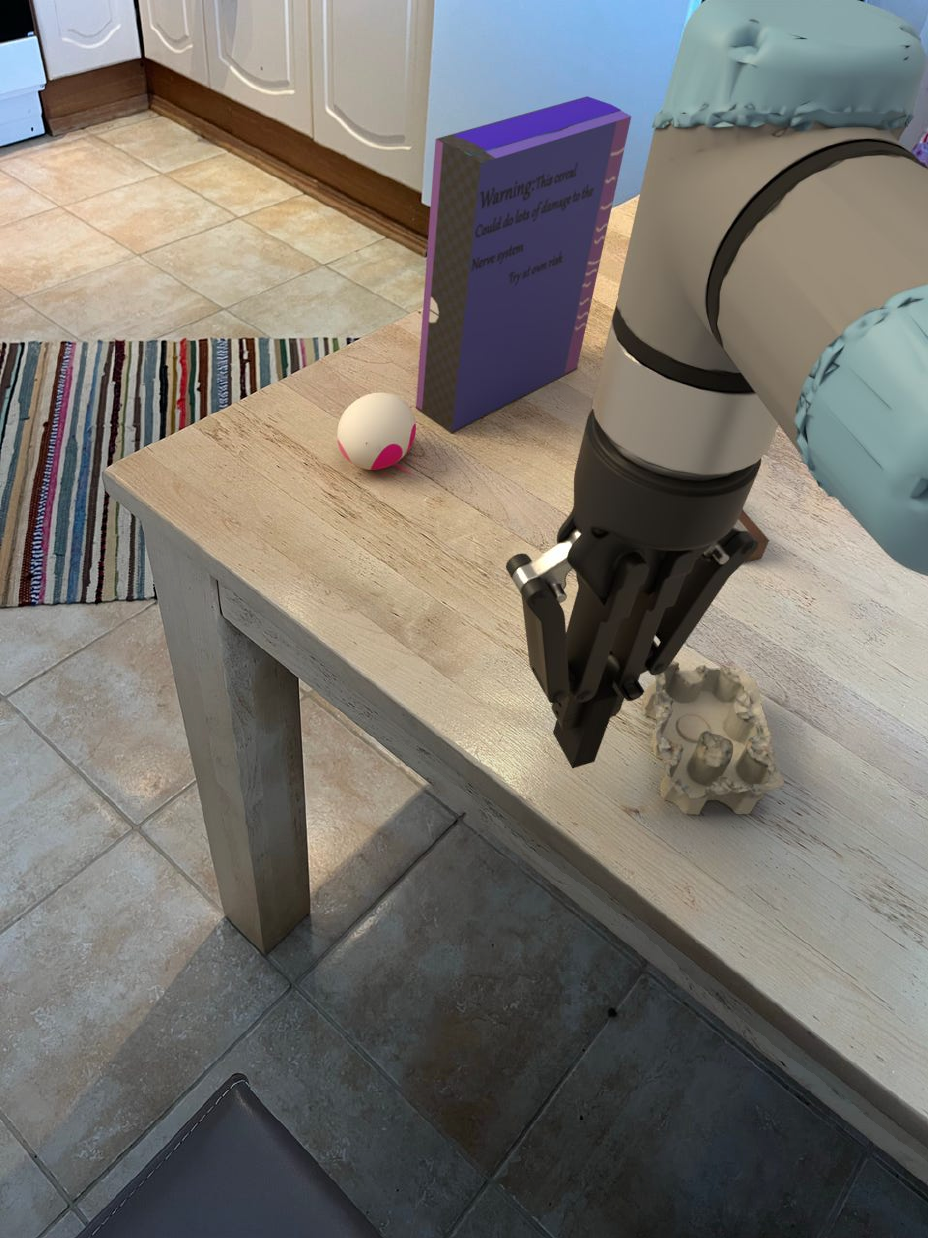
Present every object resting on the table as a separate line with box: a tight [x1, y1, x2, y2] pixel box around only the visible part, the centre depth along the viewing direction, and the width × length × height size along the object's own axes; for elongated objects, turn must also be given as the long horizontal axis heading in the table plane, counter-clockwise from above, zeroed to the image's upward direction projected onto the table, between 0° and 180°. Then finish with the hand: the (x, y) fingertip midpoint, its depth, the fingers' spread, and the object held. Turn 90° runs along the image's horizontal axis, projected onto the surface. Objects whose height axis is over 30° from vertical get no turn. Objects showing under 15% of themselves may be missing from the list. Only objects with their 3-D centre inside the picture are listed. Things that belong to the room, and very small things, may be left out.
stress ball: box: [336, 392, 417, 475], centre depth 80 cm, size 8×8×7 cm
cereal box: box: [415, 95, 632, 434], centre depth 82 cm, size 17×5×24 cm, turn 134°
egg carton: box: [641, 660, 785, 816], centre depth 63 cm, size 11×8×4 cm
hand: (573, 747), depth 57 cm, fingers closed
